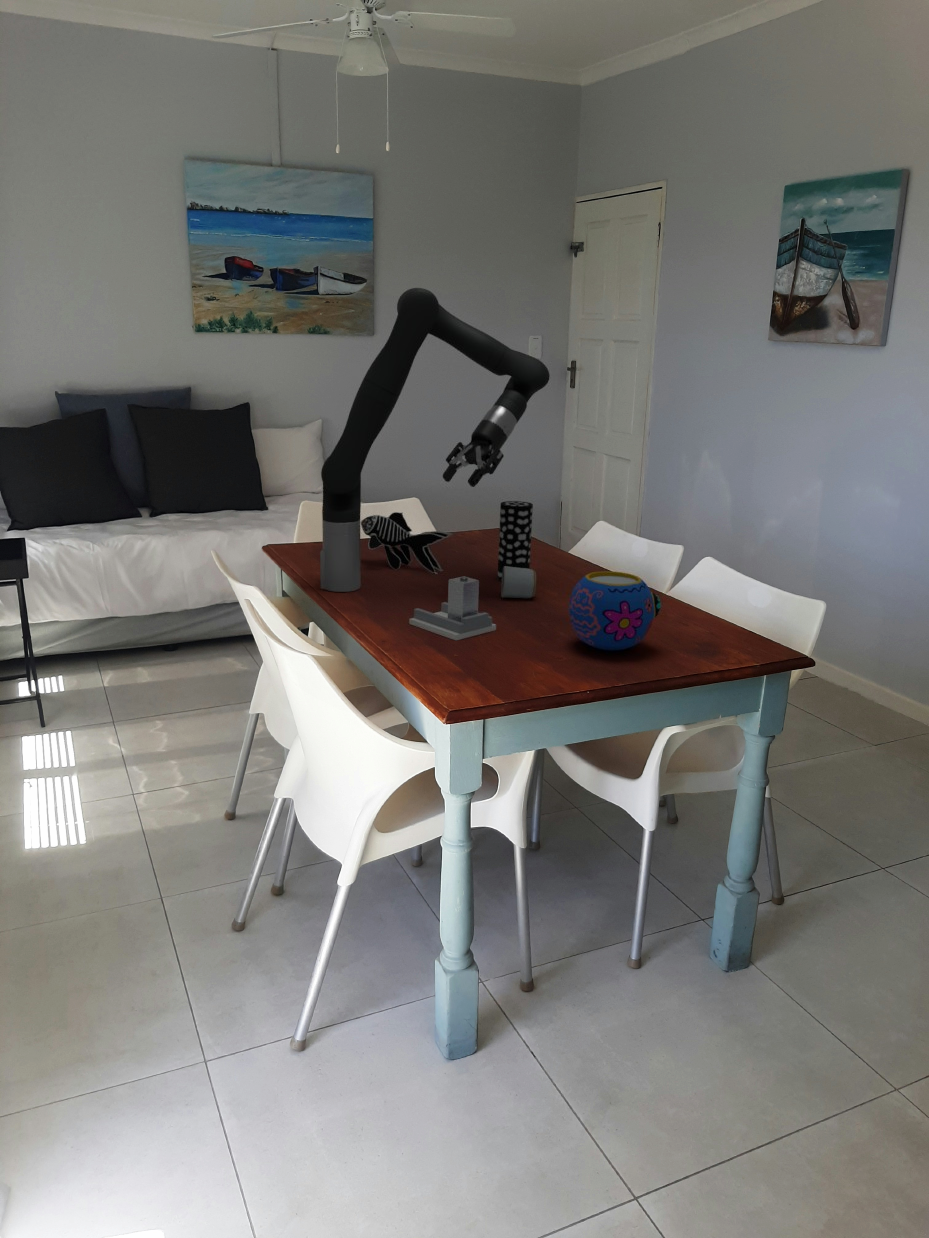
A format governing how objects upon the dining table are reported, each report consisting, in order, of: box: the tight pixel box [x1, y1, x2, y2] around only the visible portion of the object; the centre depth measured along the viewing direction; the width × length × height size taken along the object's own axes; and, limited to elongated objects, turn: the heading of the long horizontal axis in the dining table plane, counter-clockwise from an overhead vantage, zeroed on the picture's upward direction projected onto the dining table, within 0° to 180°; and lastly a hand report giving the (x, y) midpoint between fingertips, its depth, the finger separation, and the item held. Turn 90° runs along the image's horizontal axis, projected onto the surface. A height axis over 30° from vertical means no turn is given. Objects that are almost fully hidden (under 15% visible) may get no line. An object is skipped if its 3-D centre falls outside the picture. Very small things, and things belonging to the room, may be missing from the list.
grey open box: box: [408, 601, 497, 641], centre depth 212 cm, size 15×12×4 cm
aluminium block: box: [447, 575, 480, 622], centre depth 209 cm, size 5×5×10 cm
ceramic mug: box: [500, 566, 537, 599], centre depth 239 cm, size 11×8×8 cm
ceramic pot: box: [568, 570, 662, 652], centre depth 200 cm, size 18×18×15 cm
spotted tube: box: [496, 500, 534, 582], centre depth 252 cm, size 8×8×20 cm
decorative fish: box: [360, 511, 454, 575], centre depth 261 cm, size 16×26×15 cm, turn 65°
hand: (457, 482), depth 225 cm, fingers open, 8 cm apart
